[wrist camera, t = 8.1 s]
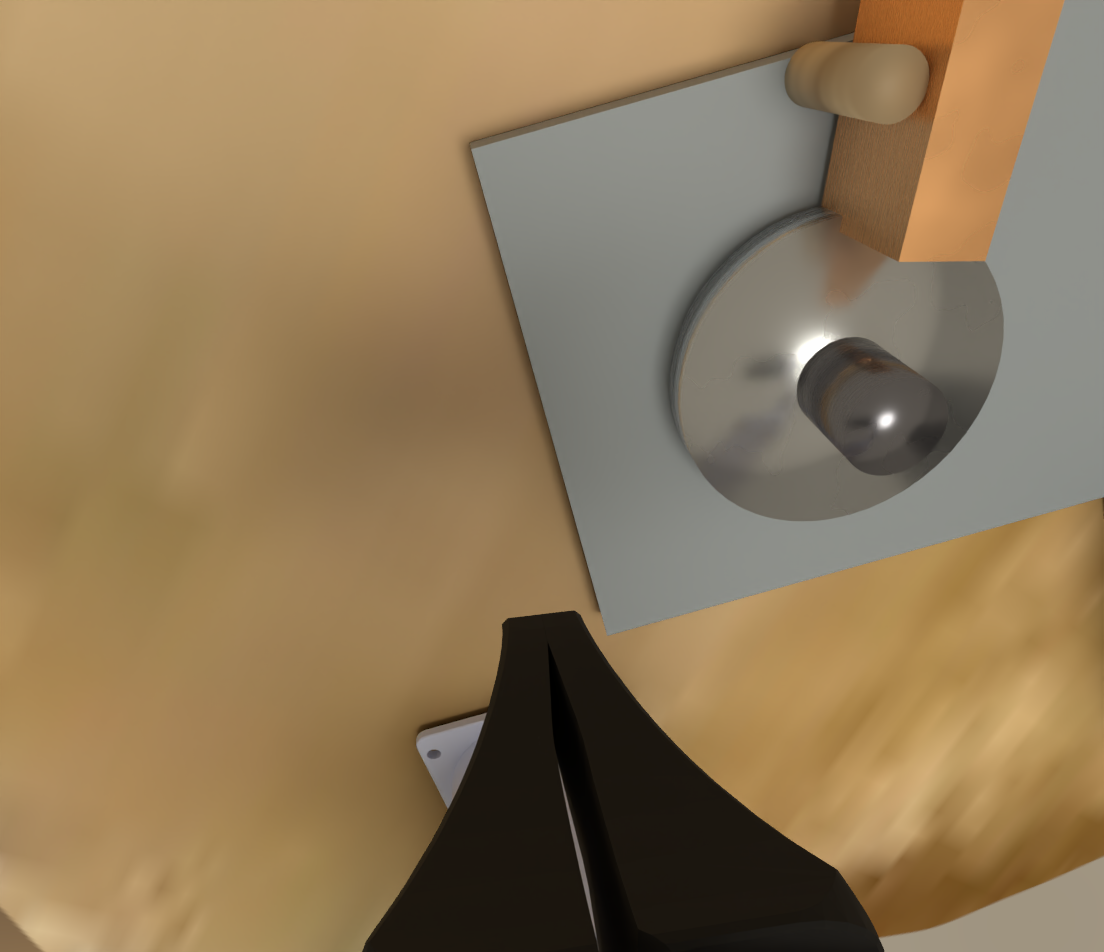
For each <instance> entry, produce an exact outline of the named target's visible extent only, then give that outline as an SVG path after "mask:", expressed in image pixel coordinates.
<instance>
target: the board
mask: <svg viewBox="0 0 1104 952" xmlns="http://www.w3.org/2000/svg"><path fill="white" fill-rule="evenodd" d="M854 33H855V32H854ZM854 33H850V34H847V35H844V36H840V37H837V38H833V39H830V40H826V41H825V42H852V43H853V38H854ZM798 49H800V48H798ZM798 49H795V50H791V51H788V52H784V53H781V54H777V55H774V56H770V57H767V58H763V59H760V60H756V61H753V62H749V63H746V64H742V65H739V66H735V67H732V68H728V69H725V70H721V71H718V72H714V73H711V74H707V75H704V76H701V77H697V78H694V79H690V80H687V81H683V82H680V83H676V84H673V85H669V86H666V87H662V88H659V89H655V90H652V91H648V92H645V93H641V94H638V95H634V96H631V97H627V98H624V99H620V100H617V101H613V102H610V103H606V104H603V105H599V106H596V107H592V108H589V109H585V110H582V111H578V112H575V113H571V114H568V115H564V116H561V117H558V118H554V119H551V120H547V121H544V122H540V123H537V124H533V125H530V126H526V127H523V128H519V129H516V130H512V131H509V132H505V133H502V134H498V135H495V136H491V137H488V138H484V139H481V140H477V141H474V142H470V147H471V151H472V154H473V158H474V161H475V165H476V168H477V172H478V176H479V179H480V183H481V186H482V190H483V193H484V197H485V201H486V204H487V208H488V211H489V215H490V218H491V222H492V226H493V229H494V233H495V236H496V240H497V244H498V247H499V251H500V254H501V258H502V261H503V265H504V269H505V272H506V276H507V279H508V283H509V286H510V290H511V294H512V297H513V301H514V304H515V308H516V311H517V315H518V319H519V322H520V326H521V329H522V333H523V336H524V340H525V344H526V347H527V351H528V354H529V358H530V361H531V365H532V369H533V372H534V376H535V379H536V383H537V386H538V390H539V394H540V397H541V401H542V404H543V408H544V411H545V415H546V419H547V422H548V426H549V429H550V433H551V436H552V440H553V444H554V447H555V451H556V454H557V458H558V461H559V465H560V469H561V472H562V476H563V479H564V483H565V486H566V490H567V494H568V497H569V501H570V504H571V508H572V511H573V515H574V519H575V522H576V526H577V529H578V533H579V536H580V540H581V544H582V547H583V551H584V554H585V558H586V561H587V565H588V569H589V572H590V576H591V579H592V583H593V586H594V590H595V594H596V597H597V601H598V604H599V608H600V611H601V615H602V619H603V622H604V626H605V629H606V633H607V636H608V635H612V634H615V633H619V632H623V631H626V630H630V629H633V628H637V627H640V626H644V625H648V624H651V623H655V622H658V621H662V620H666V619H669V618H673V617H676V616H680V615H683V614H687V613H691V612H694V611H698V610H701V609H705V608H709V607H712V606H716V605H719V604H723V603H726V602H730V601H734V600H737V599H741V598H744V597H748V596H752V595H755V594H759V593H762V592H766V591H769V590H773V589H777V588H780V587H784V586H787V585H791V584H794V583H798V582H802V581H805V580H809V579H812V578H816V577H820V576H823V575H827V574H830V573H834V572H837V571H841V570H845V569H848V568H852V567H855V566H859V565H863V564H866V563H870V562H873V561H877V560H880V559H884V558H888V557H891V556H895V555H898V554H902V553H906V552H909V551H913V550H916V549H920V548H923V547H927V546H931V545H934V544H938V543H941V542H945V541H949V540H952V539H956V538H959V537H963V536H966V535H970V534H974V533H977V532H981V531H984V530H988V529H991V528H995V527H999V526H1002V525H1006V524H1009V523H1013V522H1017V521H1020V520H1024V519H1027V518H1031V517H1034V516H1038V515H1042V514H1045V513H1049V512H1052V511H1056V510H1060V509H1063V508H1067V507H1070V506H1074V505H1077V504H1081V503H1085V502H1088V501H1092V500H1095V499H1099V498H1103V497H1104V0H1065V1H1064V4H1063V8H1062V11H1061V14H1060V17H1059V21H1058V24H1057V27H1056V31H1055V34H1054V37H1053V40H1052V44H1051V47H1050V50H1049V54H1048V57H1047V60H1046V63H1045V67H1044V70H1043V73H1042V76H1041V80H1040V83H1039V86H1038V90H1037V93H1036V96H1035V99H1034V103H1033V106H1032V109H1031V113H1030V116H1029V119H1028V122H1027V126H1026V129H1025V132H1024V136H1023V139H1022V142H1021V145H1020V149H1019V152H1018V155H1017V159H1016V162H1015V165H1014V168H1013V172H1012V175H1011V178H1010V181H1009V185H1008V188H1007V191H1006V195H1005V198H1004V201H1003V204H1002V208H1001V211H1000V214H999V218H998V221H997V224H996V227H995V231H994V234H993V237H992V241H991V244H990V247H989V250H988V254H987V257H986V260H985V262H986V264H987V265H988V267H989V269H990V271H991V273H992V275H993V277H994V279H995V281H996V285H997V288H998V291H999V294H1000V298H1001V303H1002V310H1003V317H1004V338H1003V345H1002V352H1001V359H1000V363H999V366H998V370H997V374H996V377H995V380H994V382H993V385H992V387H991V390H990V392H989V395H988V397H987V399H986V401H985V403H984V405H983V407H982V409H981V411H980V412H979V414H978V416H977V418H976V419H975V421H974V422H973V424H972V425H971V427H970V428H969V430H968V431H967V433H966V434H965V435H964V436H963V438H962V439H961V440H960V441H959V443H958V444H957V445H956V446H955V447H954V449H953V450H952V451H951V452H950V453H949V454H948V455H947V456H946V457H945V458H944V459H943V460H942V461H941V462H940V463H939V464H938V465H937V466H936V467H935V468H933V469H932V470H931V471H930V472H929V473H927V474H926V475H925V476H924V477H923V478H921V479H920V480H919V481H917V482H916V483H914V484H913V485H911V486H910V487H908V488H907V489H905V490H904V491H902V492H901V493H899V494H897V495H895V496H893V497H892V498H890V499H888V500H886V501H884V502H882V503H880V504H877V505H875V506H873V507H871V508H868V509H866V510H863V511H859V512H856V513H853V514H850V515H847V516H842V517H838V518H833V519H828V520H819V521H786V520H778V519H773V518H769V517H765V516H761V515H757V514H755V513H753V512H750V511H748V510H745V509H743V508H741V507H739V506H738V505H736V504H734V503H733V502H731V501H729V500H728V499H726V498H725V497H724V496H723V495H722V494H720V493H719V492H718V491H717V490H716V489H714V487H713V486H712V485H711V484H710V483H709V482H708V481H707V479H706V478H705V477H704V476H703V475H702V473H701V471H700V470H699V468H698V467H697V465H696V463H695V462H694V460H693V458H692V457H691V455H690V453H689V452H688V450H687V448H686V447H685V445H684V443H683V442H682V439H681V437H680V435H679V432H678V430H677V428H676V425H675V421H674V417H673V413H672V409H671V401H670V391H669V388H670V369H671V363H672V357H673V352H674V348H675V345H676V341H677V338H678V335H679V332H680V329H681V327H682V325H683V322H684V320H685V318H686V316H687V314H688V311H689V309H690V308H691V306H692V304H693V303H694V301H695V299H696V298H697V296H698V294H699V293H700V291H701V290H702V288H703V287H704V286H705V284H706V283H707V282H708V280H709V279H710V278H711V277H712V275H713V274H714V273H715V271H716V270H717V269H718V268H719V267H720V266H721V265H722V264H723V263H724V262H725V261H726V260H727V259H728V258H729V257H730V256H731V255H732V254H733V253H734V252H735V251H737V250H738V249H739V248H740V247H741V246H743V245H744V244H745V243H746V242H748V241H749V240H750V239H751V238H753V237H754V236H756V235H757V234H759V233H761V232H762V231H764V230H765V229H767V228H768V227H770V226H771V225H773V224H776V223H778V222H780V221H782V220H784V219H786V218H788V217H790V216H792V215H794V214H797V213H800V212H803V211H806V210H809V209H811V208H814V207H819V206H821V205H822V200H823V194H824V189H825V184H826V179H827V173H828V168H829V163H830V158H831V153H832V147H833V142H834V137H835V132H836V127H837V121H838V116H839V115H837V114H833V113H828V112H823V111H819V110H814V109H810V108H805V107H801V106H798V105H797V104H795V103H794V102H793V101H792V100H791V99H790V98H789V96H788V94H787V92H786V89H785V72H786V68H787V65H788V63H789V61H790V59H791V58H792V56H793V55H794V54H795V52H796V51H797V50H798Z"/></svg>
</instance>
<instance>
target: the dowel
mask: <svg viewBox="0 0 1104 952" xmlns="http://www.w3.org/2000/svg"><path fill="white" fill-rule="evenodd" d="M929 76H930V75H929V66H928V63H927V60H926V58H925V56H924V55H923V53H922V52H921V51H920V50H918V49H917V48H915V47H913V46H910V45H905V44H879V43H852V42H825V41H815V42H811V43H808V44H806V45H804V46H802V47H801V48H800V49H798V50H797V51H796V52H795V54H794V55H793V56H792V58H791V59H790V61H789V63H788V65H787V68H786V72H785V89H786V92H787V94H788V96H789V98H790V99H791V100H792V101H793V102H794V103H795V104H797V105H798V106H801V107H805V108H810V109H814V110H819V111H823V112H828V113H833V114H837V115H842V116H847V117H851V118H856V119H860V120H865V121H870V122H874V123H879V124H885V125H888V124H894V123H898V122H900V121H902V120H904V119H906V118H907V117H908V116H910V115H911V114H912V113H913V112H914V111H915V110H916V109H917V108H918V106H919V105H920V103H921V102H922V100H923V98H924V96H925V94H926V91H927V87H928V83H929Z"/></svg>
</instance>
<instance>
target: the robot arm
mask: <svg viewBox="0 0 1104 952" xmlns="http://www.w3.org/2000/svg"><path fill="white" fill-rule="evenodd" d="M502 629H503V637H502V649H501V656H500V661H499V667H498V672H497V676H496V680H495V684H494V688H493V692H492V696H491V700H490V704H489V707H488V711H487V713H484V714H480V715H477V716H473V717H470V718H466V719H463V720H459V721H455V722H452V723H448V724H445V725H441V726H437V727H434V728H430V729H427V730H424V731H422V732H420V733H419V734H418V736H417V738H416V746H417V749H418V751H419V753H420V755H421V757H422V759H423V761H424V763H425V765H426V767H427V769H428V771H429V773H430V775H431V777H432V779H433V781H434V783H435V785H436V787H437V788H438V790H439V792H440V794H441V796H442V798H443V800H444V802H445V804H446V806H447V808H448V810H447V812H446V814H445V816H444V818H443V820H442V822H441V824H440V826H439V828H438V830H437V832H436V834H435V835H434V837H433V839H432V841H431V843H430V844H429V846H428V848H427V849H426V851H425V853H424V854H423V856H422V858H421V859H420V861H419V863H418V864H417V866H416V868H415V869H414V871H413V873H412V874H411V876H410V878H409V879H408V881H407V883H406V884H405V886H404V887H403V889H402V891H401V892H400V894H399V895H398V897H397V898H396V899H395V901H394V902H393V904H392V905H391V907H390V908H389V909H388V911H387V912H386V914H385V915H384V917H383V918H382V919H381V921H380V922H379V924H378V925H377V926H376V928H375V929H374V931H373V932H372V934H371V935H370V936H369V938H368V939H367V941H366V943H365V946H364V949H363V951H362V952H884V949H883V946H882V944H881V942H880V940H879V937H878V935H877V932H876V930H875V928H874V926H873V924H872V922H871V920H870V919H869V917H868V915H867V913H866V912H865V910H864V909H863V907H862V905H861V904H860V902H859V901H858V899H857V898H856V896H855V894H854V893H853V891H852V890H851V889H850V887H849V886H848V884H847V883H846V881H845V880H844V878H843V877H842V876H841V874H840V873H839V871H838V870H837V869H835V868H834V867H832V866H830V865H829V864H827V863H826V862H824V861H822V860H821V859H819V858H818V857H816V856H815V855H813V854H811V853H810V852H808V851H807V850H805V849H803V848H802V847H800V846H799V845H797V844H796V843H794V842H793V841H791V840H790V839H788V838H787V837H785V836H784V835H782V834H781V833H780V832H778V831H777V830H776V829H774V828H773V827H771V826H770V825H769V824H767V823H766V822H765V821H763V820H762V819H760V818H759V817H758V816H756V815H755V814H754V813H753V812H751V811H750V810H749V809H748V808H747V807H745V806H744V805H743V804H742V803H740V802H739V801H738V800H737V799H735V798H734V797H733V796H732V795H731V794H729V793H728V792H727V791H726V790H724V789H723V788H722V787H721V786H720V785H718V784H717V783H716V782H715V781H714V780H712V779H711V778H710V777H709V776H708V775H707V774H706V773H705V772H704V771H703V770H702V769H701V768H699V767H698V766H697V765H696V764H695V763H694V762H693V761H692V760H691V759H690V758H689V757H688V756H687V755H686V754H685V753H684V752H683V751H682V750H681V749H680V748H679V747H678V746H677V745H676V744H675V743H674V742H673V741H672V740H671V739H670V738H669V737H668V736H667V735H666V734H665V732H664V731H663V730H662V729H661V728H660V727H659V726H658V725H657V724H656V722H655V721H654V720H653V719H652V718H651V717H650V716H649V714H648V713H647V712H646V711H645V710H644V709H643V707H642V706H641V705H640V704H639V702H638V701H637V700H636V699H635V697H634V696H633V695H632V694H631V692H630V691H629V690H628V688H627V687H626V686H625V684H624V683H623V682H622V680H621V679H620V678H619V676H618V675H617V674H616V672H615V671H614V670H613V668H612V667H611V665H610V664H609V663H608V661H607V660H606V658H605V657H604V655H603V654H602V652H601V651H600V649H599V647H598V646H597V644H596V643H595V641H594V639H593V638H592V636H591V634H590V633H589V631H588V629H587V627H586V625H585V624H584V622H583V620H582V617H581V615H580V614H578V613H577V612H576V611H565V612H557V613H549V614H540V615H532V616H524V617H515V618H508V619H507V620H506V621H505V622H504V623H503V624H502ZM435 749H436V751H432V750H435Z"/></svg>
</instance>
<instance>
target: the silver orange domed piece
mask: <svg viewBox="0 0 1104 952" xmlns="http://www.w3.org/2000/svg"><path fill="white" fill-rule="evenodd" d="M1064 1H1065V0H861V2H860V7H859V12H858V17H857V22H856V28H855V33H854V38H853V43H879V44H905V45H910V46H913V47H915V48H917V49H918V50H920V51H921V52H922V53H923V55H924V56H925V58H926V60H927V63H928V66H929V75H930V76H929V83H928V87H927V91H926V94H925V96H924V98H923V100H922V102H921V103H920V105H919V106H918V108H917V109H916V110H915V111H914V112H913V113H912V114H911V115H910V116H908V117H907V118H906V119H904V120H902V121H900V122H898V123H894V124H888V125H885V124H879V123H874V122H870V121H865V120H860V119H856V118H851V117H847V116H842V115H839V116H838V121H837V127H836V132H835V137H834V142H833V147H832V153H831V158H830V163H829V168H828V173H827V179H826V184H825V189H824V194H823V200H822V205H821V206H819V207H814V208H811V209H809V210H806V211H803V212H800V213H797V214H794V215H792V216H790V217H788V218H786V219H784V220H782V221H780V222H778V223H776V224H773V225H771V226H770V227H768V228H767V229H765V230H764V231H762V232H761V233H759V234H757V235H756V236H754V237H753V238H751V239H750V240H749V241H748V242H746V243H745V244H744V245H743V246H741V247H740V248H739V249H738V250H737V251H735V252H734V253H733V254H732V255H731V256H730V257H729V258H728V259H727V260H726V261H725V262H724V263H723V264H722V265H721V266H720V267H719V268H718V269H717V270H716V271H715V273H714V274H713V275H712V277H711V278H710V279H709V280H708V282H707V283H706V284H705V286H704V287H703V288H702V290H701V291H700V293H699V294H698V296H697V298H696V299H695V301H694V303H693V304H692V306H691V308H690V309H689V311H688V314H687V316H686V318H685V320H684V322H683V325H682V327H681V329H680V332H679V335H678V338H677V341H676V345H675V348H674V352H673V357H672V363H671V369H670V388H669V391H670V401H671V409H672V413H673V417H674V421H675V425H676V428H677V430H678V432H679V435H680V437H681V439H682V442H683V443H684V445H685V447H686V448H687V450H688V452H689V453H690V455H691V457H692V458H693V460H694V462H695V463H696V465H697V467H698V468H699V470H700V471H701V473H702V475H703V476H704V477H705V478H706V479H707V481H708V482H709V483H710V484H711V485H712V486H713V487H714V489H716V490H717V491H718V492H719V493H720V494H722V495H723V496H724V497H725V498H726V499H728V500H729V501H731V502H733V503H734V504H736V505H738V506H739V507H741V508H743V509H745V510H748V511H750V512H753V513H755V514H757V515H761V516H765V517H769V518H773V519H778V520H786V521H819V520H828V519H833V518H838V517H842V516H847V515H850V514H853V513H856V512H859V511H863V510H866V509H868V508H871V507H873V506H875V505H877V504H880V503H882V502H884V501H886V500H888V499H890V498H892V497H893V496H895V495H897V494H899V493H901V492H902V491H904V490H905V489H907V488H908V487H910V486H911V485H913V484H914V483H916V482H917V481H919V480H920V479H921V478H923V477H924V476H925V475H926V474H927V473H929V472H930V471H931V470H932V469H933V468H935V467H936V466H937V465H938V464H939V463H940V462H941V461H942V460H943V459H944V458H945V457H946V456H947V455H948V454H949V453H950V452H951V451H952V450H953V449H954V447H955V446H956V445H957V444H958V443H959V441H960V440H961V439H962V438H963V436H964V435H965V434H966V433H967V431H968V430H969V428H970V427H971V425H972V424H973V422H974V421H975V419H976V418H977V416H978V414H979V412H980V411H981V409H982V407H983V405H984V403H985V401H986V399H987V397H988V395H989V392H990V390H991V387H992V385H993V382H994V380H995V377H996V374H997V370H998V366H999V363H1000V359H1001V352H1002V345H1003V338H1004V317H1003V310H1002V303H1001V298H1000V294H999V291H998V288H997V285H996V281H995V279H994V277H993V275H992V273H991V271H990V269H989V267H988V265H987V264H986V262H985V260H986V257H987V254H988V250H989V247H990V244H991V241H992V237H993V234H994V231H995V227H996V224H997V221H998V218H999V214H1000V211H1001V208H1002V204H1003V201H1004V198H1005V195H1006V191H1007V188H1008V185H1009V181H1010V178H1011V175H1012V172H1013V168H1014V165H1015V162H1016V159H1017V155H1018V152H1019V149H1020V145H1021V142H1022V139H1023V136H1024V132H1025V129H1026V126H1027V122H1028V119H1029V116H1030V113H1031V109H1032V106H1033V103H1034V99H1035V96H1036V93H1037V90H1038V86H1039V83H1040V80H1041V76H1042V73H1043V70H1044V67H1045V63H1046V60H1047V57H1048V54H1049V50H1050V47H1051V44H1052V40H1053V37H1054V34H1055V31H1056V27H1057V24H1058V21H1059V17H1060V14H1061V11H1062V8H1063V4H1064Z"/></svg>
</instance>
